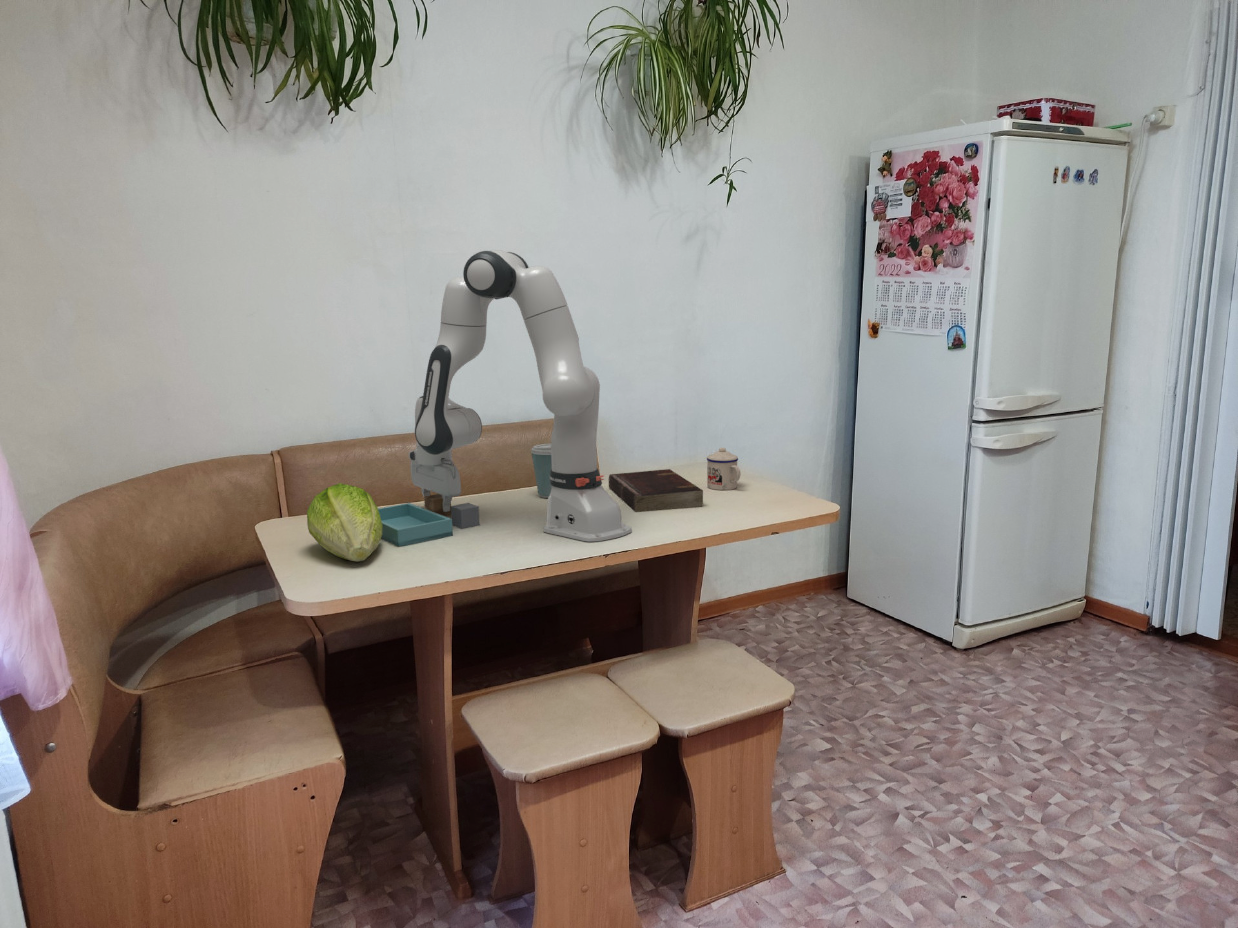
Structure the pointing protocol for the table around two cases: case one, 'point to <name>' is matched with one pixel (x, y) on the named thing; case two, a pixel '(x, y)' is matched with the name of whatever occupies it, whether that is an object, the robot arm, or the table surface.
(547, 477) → the disposable coffee cup
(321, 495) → the lettuce
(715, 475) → the teacup with lid
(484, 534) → the table surface
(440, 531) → the teal tray
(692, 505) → the hardback book
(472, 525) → the charcoal block
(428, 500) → the walnut block
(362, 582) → the table surface
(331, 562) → the table surface
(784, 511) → the table surface
